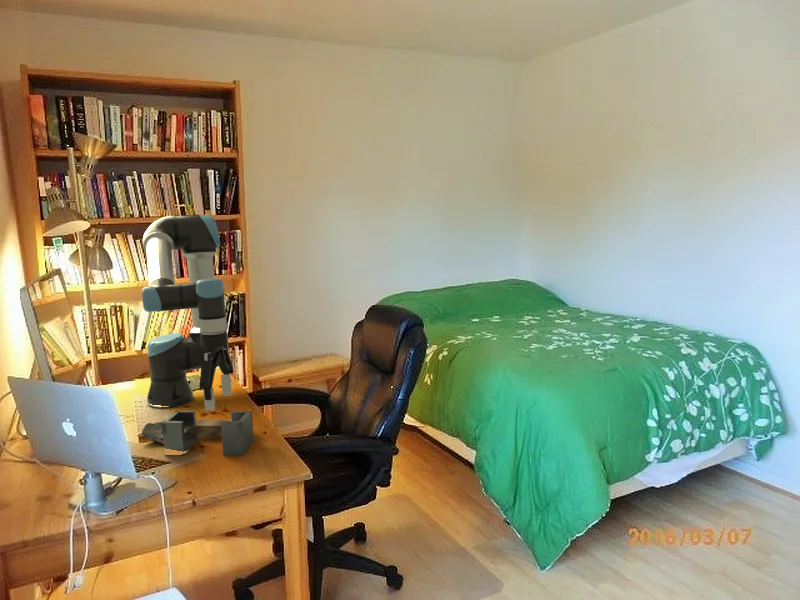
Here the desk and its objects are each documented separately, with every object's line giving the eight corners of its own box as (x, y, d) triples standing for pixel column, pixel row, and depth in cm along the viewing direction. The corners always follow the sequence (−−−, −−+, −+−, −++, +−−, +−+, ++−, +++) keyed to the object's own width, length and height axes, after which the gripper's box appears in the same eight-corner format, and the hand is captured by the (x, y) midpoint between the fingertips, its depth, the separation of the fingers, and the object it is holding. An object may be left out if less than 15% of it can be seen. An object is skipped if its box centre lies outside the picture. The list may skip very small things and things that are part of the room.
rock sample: (161, 437, 172) (154, 412, 176) (144, 453, 173) (136, 427, 178) (190, 440, 180) (181, 416, 185) (172, 455, 182) (165, 430, 186)
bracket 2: (235, 442, 177) (232, 410, 175) (253, 442, 176) (251, 411, 175) (223, 455, 168) (220, 423, 166) (243, 455, 167) (240, 423, 166)
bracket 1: (179, 441, 178) (176, 410, 177) (197, 441, 178) (195, 410, 176) (164, 455, 169) (161, 422, 167) (184, 455, 169) (181, 422, 167)
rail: (189, 439, 180) (188, 425, 179) (195, 434, 184) (194, 419, 184) (248, 440, 179) (247, 425, 178) (253, 434, 183) (252, 420, 182)
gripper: (216, 323, 189) (222, 389, 192) (182, 341, 164) (189, 417, 167) (240, 323, 188) (245, 389, 191) (209, 341, 163) (215, 416, 167)
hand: (219, 402), depth 179 cm, fingers open, 13 cm apart
